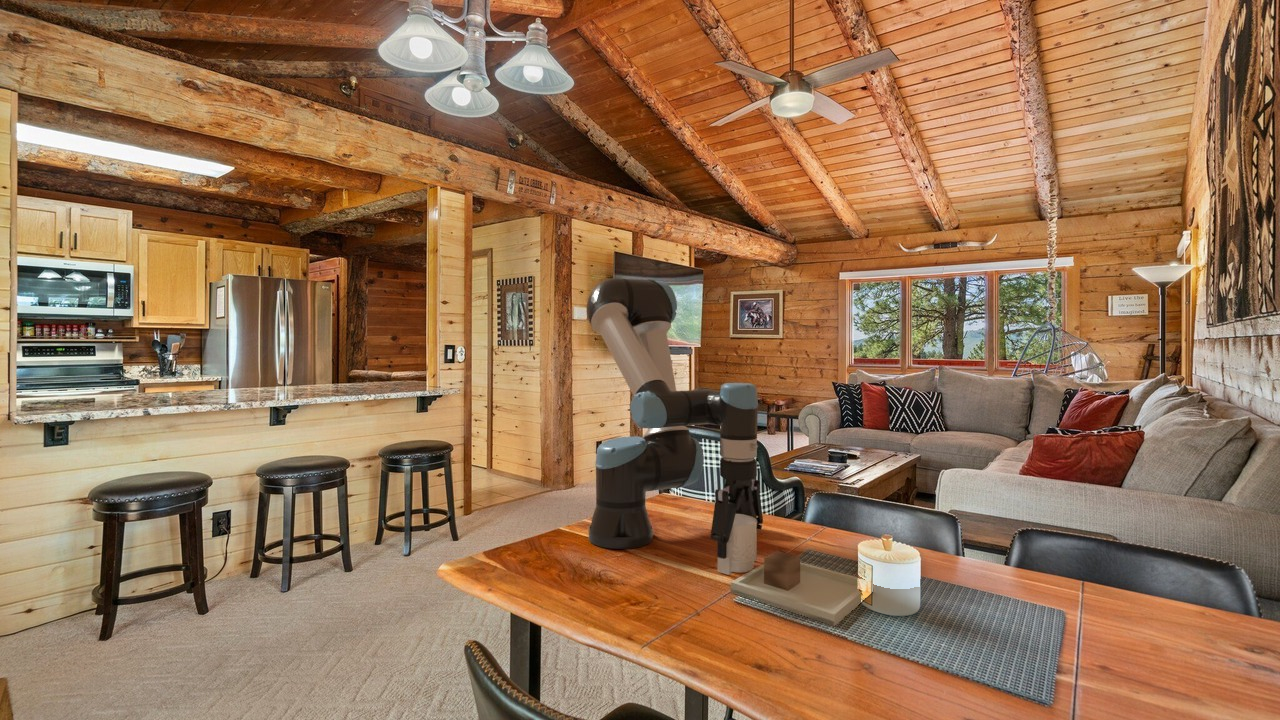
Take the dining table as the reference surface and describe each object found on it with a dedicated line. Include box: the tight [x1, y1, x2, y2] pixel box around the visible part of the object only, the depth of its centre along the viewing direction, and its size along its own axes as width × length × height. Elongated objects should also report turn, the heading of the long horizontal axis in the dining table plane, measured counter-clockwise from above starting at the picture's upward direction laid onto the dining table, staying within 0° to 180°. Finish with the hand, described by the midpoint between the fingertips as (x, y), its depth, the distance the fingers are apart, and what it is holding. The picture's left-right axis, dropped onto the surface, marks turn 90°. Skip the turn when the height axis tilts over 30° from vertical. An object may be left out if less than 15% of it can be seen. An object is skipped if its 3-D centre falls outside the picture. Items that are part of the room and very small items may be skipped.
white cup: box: [724, 514, 757, 574], centre depth 126 cm, size 8×8×10 cm
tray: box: [730, 562, 862, 627], centre depth 114 cm, size 20×18×2 cm
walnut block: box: [763, 550, 802, 591], centre depth 116 cm, size 5×5×5 cm
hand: (737, 565), depth 126 cm, fingers open, 9 cm apart
